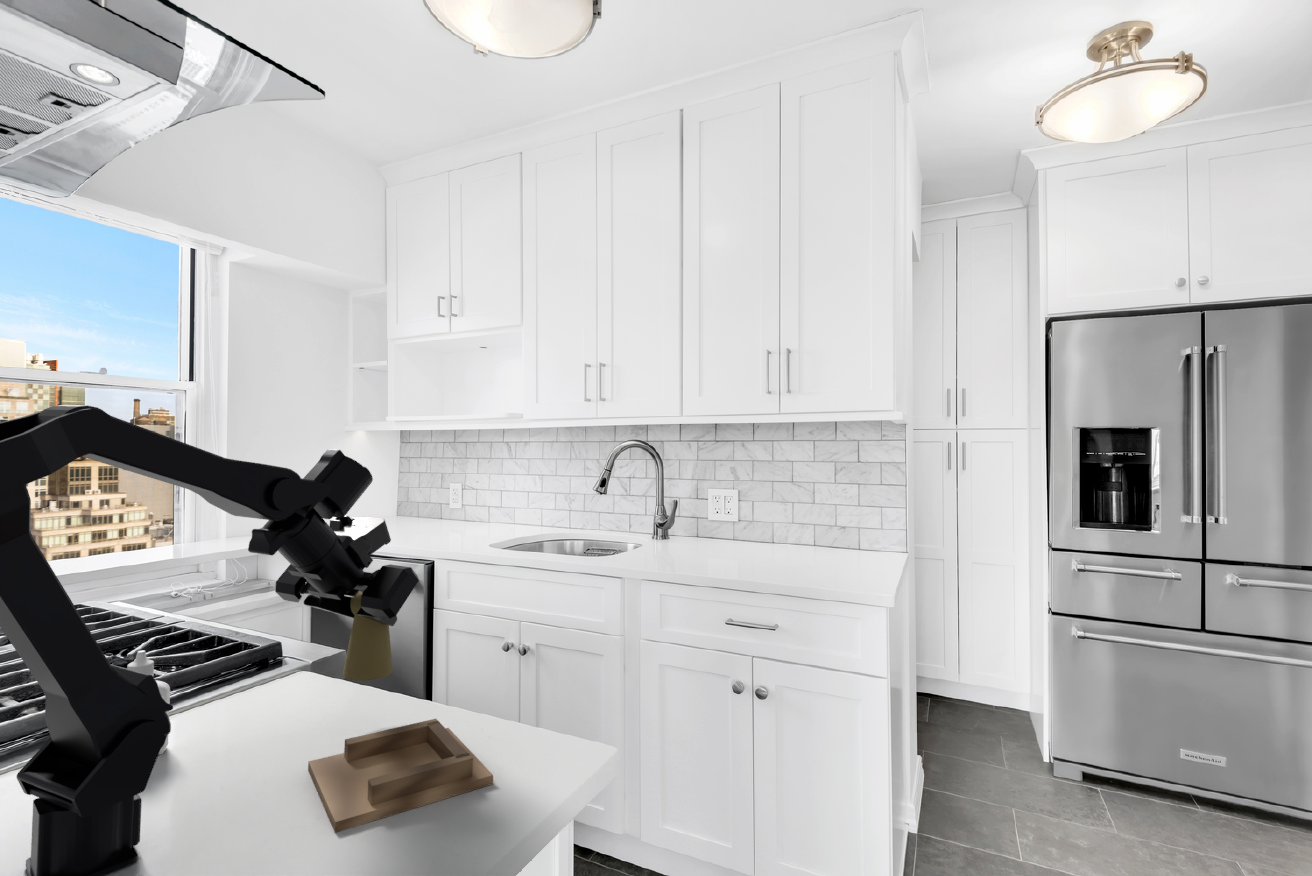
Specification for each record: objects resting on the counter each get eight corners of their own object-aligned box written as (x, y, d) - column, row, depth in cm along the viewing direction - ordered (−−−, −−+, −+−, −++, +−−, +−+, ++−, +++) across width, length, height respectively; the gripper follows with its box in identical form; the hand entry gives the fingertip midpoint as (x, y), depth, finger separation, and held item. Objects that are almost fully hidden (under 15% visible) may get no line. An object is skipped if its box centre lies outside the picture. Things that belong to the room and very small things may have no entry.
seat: (334, 832, 62) (336, 801, 62) (308, 770, 73) (309, 743, 73) (492, 784, 72) (493, 756, 72) (448, 735, 83) (448, 712, 83)
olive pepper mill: (369, 683, 82) (374, 596, 82) (332, 676, 84) (336, 590, 84) (402, 669, 88) (407, 587, 88) (366, 662, 90) (371, 582, 90)
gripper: (412, 502, 79) (465, 578, 89) (300, 492, 86) (361, 564, 96) (357, 578, 72) (422, 651, 82) (239, 560, 78) (313, 630, 89)
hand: (379, 620), depth 87 cm, fingers closed on olive pepper mill, 5 cm apart
